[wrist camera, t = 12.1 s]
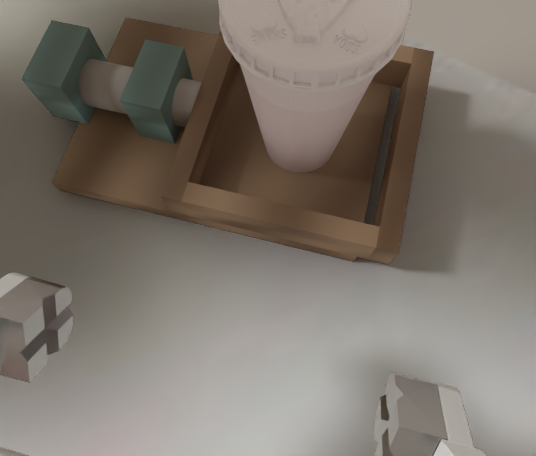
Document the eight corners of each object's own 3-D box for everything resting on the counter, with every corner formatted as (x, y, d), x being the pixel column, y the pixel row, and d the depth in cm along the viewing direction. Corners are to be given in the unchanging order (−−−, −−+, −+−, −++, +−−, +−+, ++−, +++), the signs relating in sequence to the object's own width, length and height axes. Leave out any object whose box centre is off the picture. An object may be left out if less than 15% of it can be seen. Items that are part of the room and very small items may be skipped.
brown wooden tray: (26, 181, 24) (-23, 143, 20) (100, 23, 27) (70, -36, 24) (383, 268, 22) (406, 245, 18) (416, 87, 26) (442, 34, 22)
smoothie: (365, 96, 24) (470, -242, 11) (355, 204, 22) (472, -48, 9) (249, 83, 25) (217, -257, 11) (230, 189, 23) (163, -75, 9)
